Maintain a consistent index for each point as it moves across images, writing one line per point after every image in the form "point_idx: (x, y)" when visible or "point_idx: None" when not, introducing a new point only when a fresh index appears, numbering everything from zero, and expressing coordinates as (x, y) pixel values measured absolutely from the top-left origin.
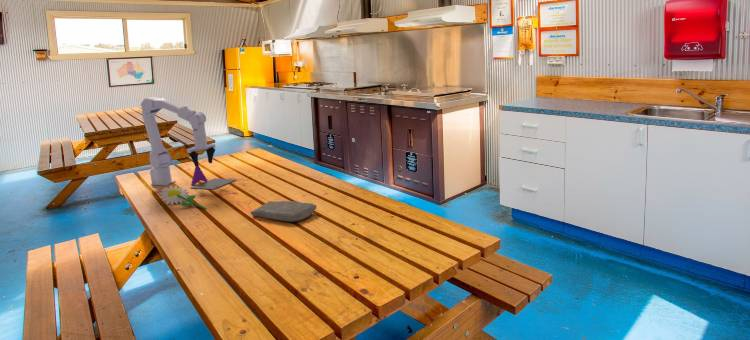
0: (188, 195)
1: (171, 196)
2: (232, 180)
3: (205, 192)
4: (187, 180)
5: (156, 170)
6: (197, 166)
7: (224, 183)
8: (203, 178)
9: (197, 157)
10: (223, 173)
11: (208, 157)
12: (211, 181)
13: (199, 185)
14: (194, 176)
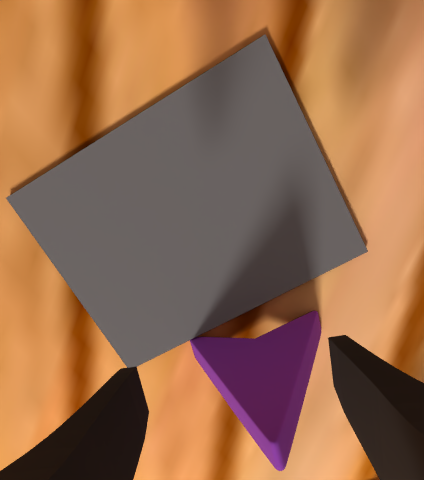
0: None
1: None
2: (44, 191)
3: (352, 9)
4: (273, 473)
5: None
6: (343, 335)
7: (127, 149)
8: (223, 348)
9: (410, 412)
10: None
11: (122, 477)
12: (178, 300)
13: (291, 260)
14: (306, 359)
